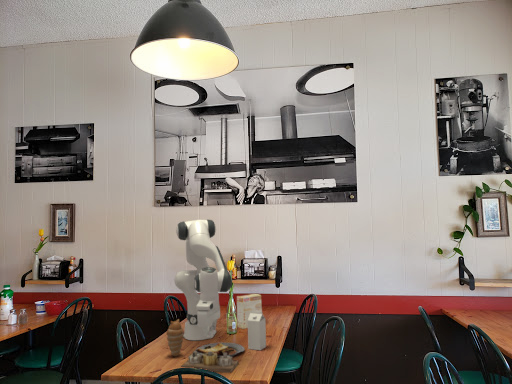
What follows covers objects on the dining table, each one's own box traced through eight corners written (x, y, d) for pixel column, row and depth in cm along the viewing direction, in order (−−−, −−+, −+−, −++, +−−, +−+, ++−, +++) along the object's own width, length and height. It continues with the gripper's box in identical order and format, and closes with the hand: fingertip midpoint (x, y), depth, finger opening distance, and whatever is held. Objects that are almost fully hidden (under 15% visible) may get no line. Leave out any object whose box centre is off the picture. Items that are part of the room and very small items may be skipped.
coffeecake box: (256, 323, 279) (256, 293, 280) (262, 325, 273) (261, 294, 274) (236, 326, 271) (236, 296, 272) (242, 329, 265) (241, 297, 266)
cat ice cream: (177, 352, 219) (176, 317, 221) (187, 355, 214) (186, 319, 216) (163, 357, 213) (163, 320, 214) (173, 360, 208) (173, 322, 209)
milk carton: (254, 345, 229) (253, 309, 230) (266, 347, 226) (265, 310, 227) (248, 349, 223) (247, 312, 224) (260, 350, 219) (259, 313, 221)
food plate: (218, 363, 201) (218, 355, 201) (186, 354, 216) (186, 347, 216) (252, 352, 220) (252, 345, 220) (221, 344, 235) (221, 338, 235)
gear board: (191, 360, 206) (191, 347, 206) (238, 363, 200) (238, 349, 200) (181, 369, 194) (180, 354, 195) (230, 372, 188) (230, 357, 189)
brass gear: (206, 360, 201) (206, 351, 202) (219, 361, 200) (219, 352, 200) (200, 365, 195) (200, 356, 195) (214, 366, 193) (214, 357, 193)
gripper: (211, 298, 210) (211, 326, 209) (194, 307, 190) (195, 338, 189) (223, 298, 208) (223, 327, 208) (207, 307, 189) (208, 339, 188)
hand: (209, 332), depth 198 cm, fingers open, 8 cm apart
